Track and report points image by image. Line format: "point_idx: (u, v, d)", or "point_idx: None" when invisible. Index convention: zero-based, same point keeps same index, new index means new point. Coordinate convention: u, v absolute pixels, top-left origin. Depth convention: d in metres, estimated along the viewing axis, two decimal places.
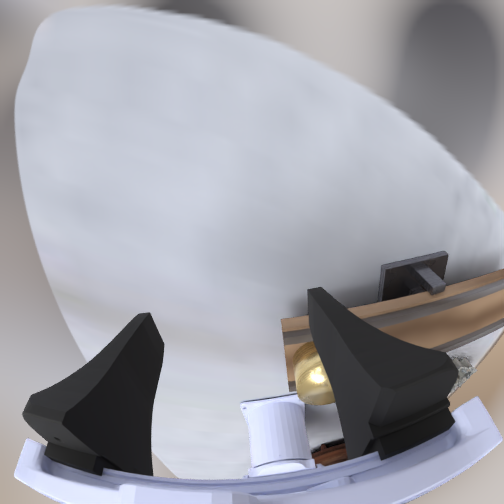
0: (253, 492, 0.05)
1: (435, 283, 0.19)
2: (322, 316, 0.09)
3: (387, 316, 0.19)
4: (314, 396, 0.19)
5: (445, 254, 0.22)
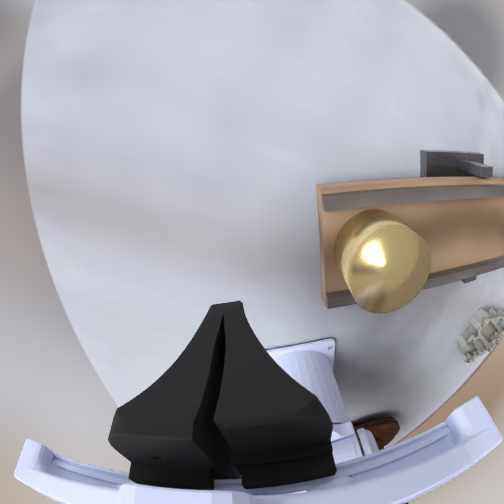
0: (253, 492, 0.05)
1: (481, 165, 0.14)
2: None
3: (444, 187, 0.14)
4: (373, 290, 0.13)
5: (480, 154, 0.17)
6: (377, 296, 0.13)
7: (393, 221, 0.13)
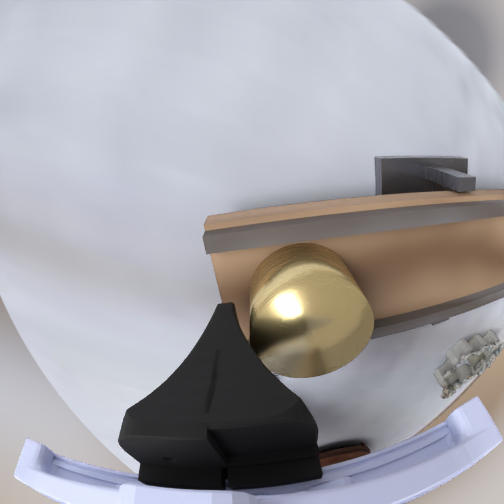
0: (253, 492, 0.05)
1: (459, 175, 0.11)
2: None
3: (393, 210, 0.11)
4: (285, 355, 0.10)
5: (463, 158, 0.14)
6: (293, 361, 0.11)
7: (316, 266, 0.10)
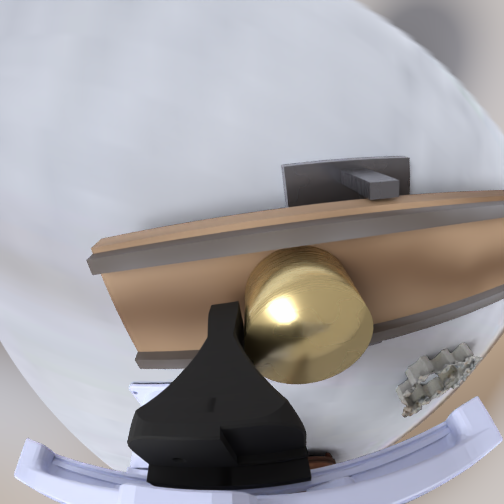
0: (253, 492, 0.05)
1: (375, 179, 0.11)
2: None
3: (267, 229, 0.11)
4: (282, 362, 0.10)
5: (403, 157, 0.14)
6: (291, 368, 0.10)
7: (309, 269, 0.10)
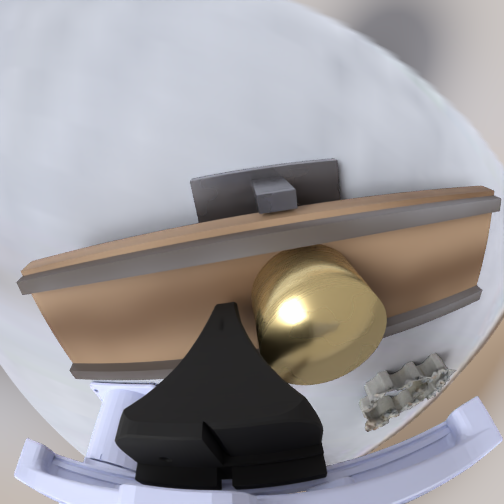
0: (253, 492, 0.05)
1: (269, 190, 0.11)
2: None
3: (149, 252, 0.11)
4: (300, 365, 0.10)
5: (330, 160, 0.14)
6: (309, 369, 0.10)
7: (318, 268, 0.10)
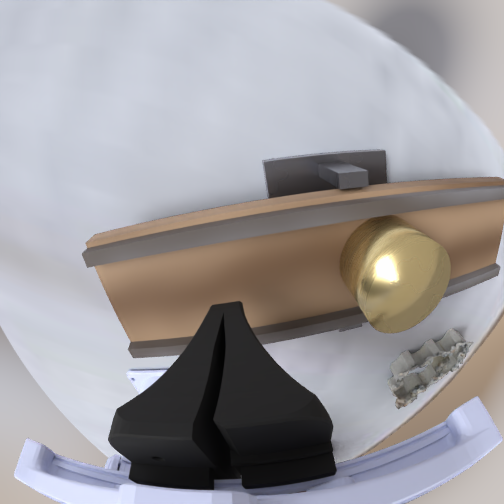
0: (253, 492, 0.05)
1: (345, 170, 0.13)
2: None
3: (246, 218, 0.12)
4: (391, 311, 0.11)
5: (380, 150, 0.15)
6: (396, 316, 0.11)
7: (405, 229, 0.11)
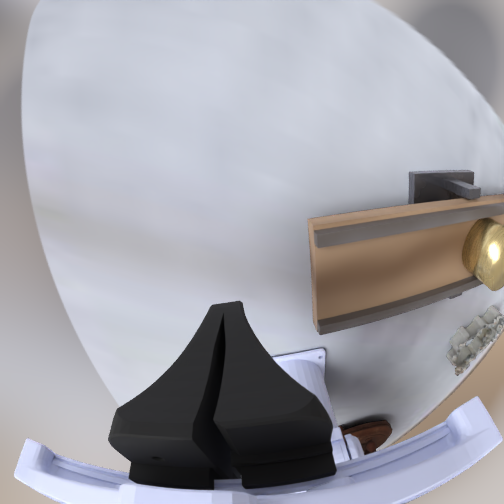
0: (253, 492, 0.05)
1: (469, 187, 0.15)
2: None
3: (432, 214, 0.15)
4: (497, 275, 0.14)
5: (471, 172, 0.18)
6: (497, 279, 0.14)
7: (502, 226, 0.14)
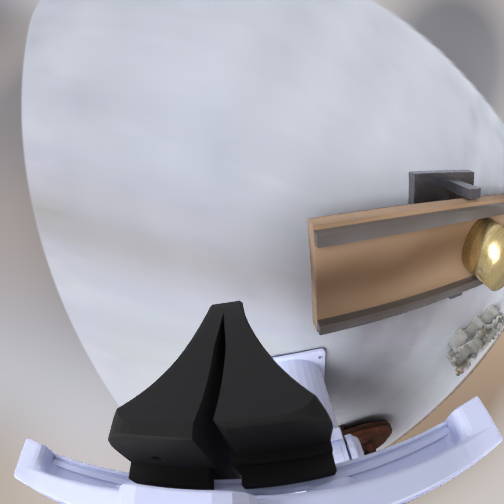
0: (253, 492, 0.05)
1: (469, 187, 0.15)
2: None
3: (432, 214, 0.15)
4: (497, 275, 0.14)
5: (471, 172, 0.18)
6: (497, 279, 0.14)
7: (502, 226, 0.14)
